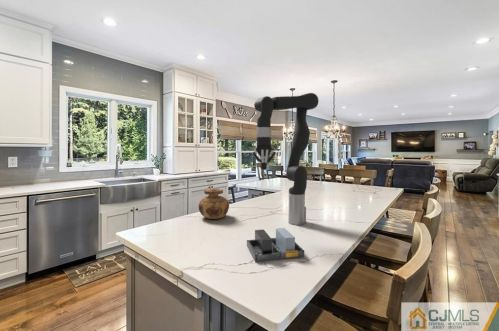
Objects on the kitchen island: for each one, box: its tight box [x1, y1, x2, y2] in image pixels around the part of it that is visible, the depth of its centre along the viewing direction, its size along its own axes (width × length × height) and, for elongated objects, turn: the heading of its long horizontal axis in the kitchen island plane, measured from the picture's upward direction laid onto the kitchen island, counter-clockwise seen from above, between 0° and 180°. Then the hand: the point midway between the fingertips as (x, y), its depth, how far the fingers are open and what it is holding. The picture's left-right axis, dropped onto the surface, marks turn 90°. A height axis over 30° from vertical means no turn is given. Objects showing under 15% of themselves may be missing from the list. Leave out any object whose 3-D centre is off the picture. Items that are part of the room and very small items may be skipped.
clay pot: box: [198, 187, 230, 220], centre depth 153 cm, size 19×19×20 cm
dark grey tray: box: [246, 228, 305, 263], centre depth 103 cm, size 20×16×8 cm
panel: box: [275, 227, 296, 252], centre depth 104 cm, size 4×12×7 cm, turn 12°
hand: (263, 169), depth 128 cm, fingers closed
